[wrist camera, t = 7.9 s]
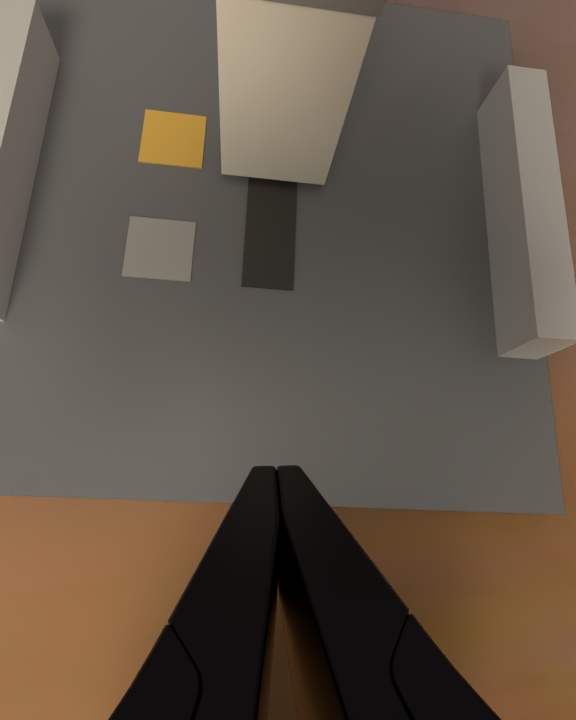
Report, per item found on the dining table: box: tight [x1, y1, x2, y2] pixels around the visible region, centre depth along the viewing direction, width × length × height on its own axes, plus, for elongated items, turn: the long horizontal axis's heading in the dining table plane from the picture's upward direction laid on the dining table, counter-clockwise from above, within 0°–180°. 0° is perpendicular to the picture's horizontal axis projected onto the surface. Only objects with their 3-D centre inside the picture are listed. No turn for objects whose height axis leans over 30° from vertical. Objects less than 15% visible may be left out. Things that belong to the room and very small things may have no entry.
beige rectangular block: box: [216, 0, 386, 185], centre depth 18 cm, size 3×5×9 cm, turn 88°
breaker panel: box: [0, 0, 576, 515], centre depth 22 cm, size 28×27×4 cm
